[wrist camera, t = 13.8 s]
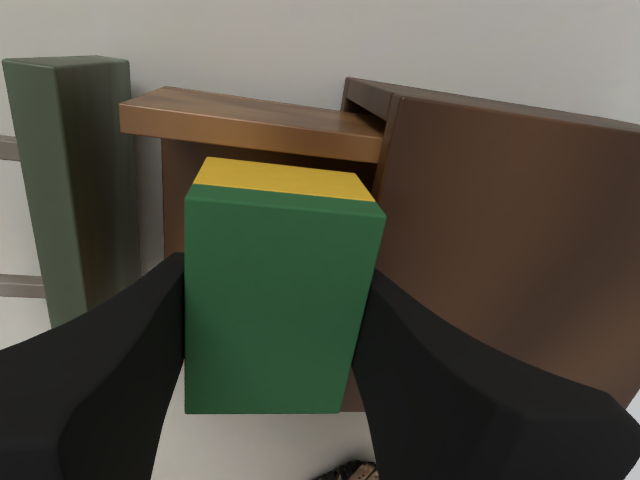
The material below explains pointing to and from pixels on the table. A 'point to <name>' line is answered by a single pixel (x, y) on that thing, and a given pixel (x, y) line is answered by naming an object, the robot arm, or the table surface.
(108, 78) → the drawer
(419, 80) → the table surface
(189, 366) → the sponge
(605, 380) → the cabinet
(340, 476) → the airplane wreck
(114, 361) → the robot arm
